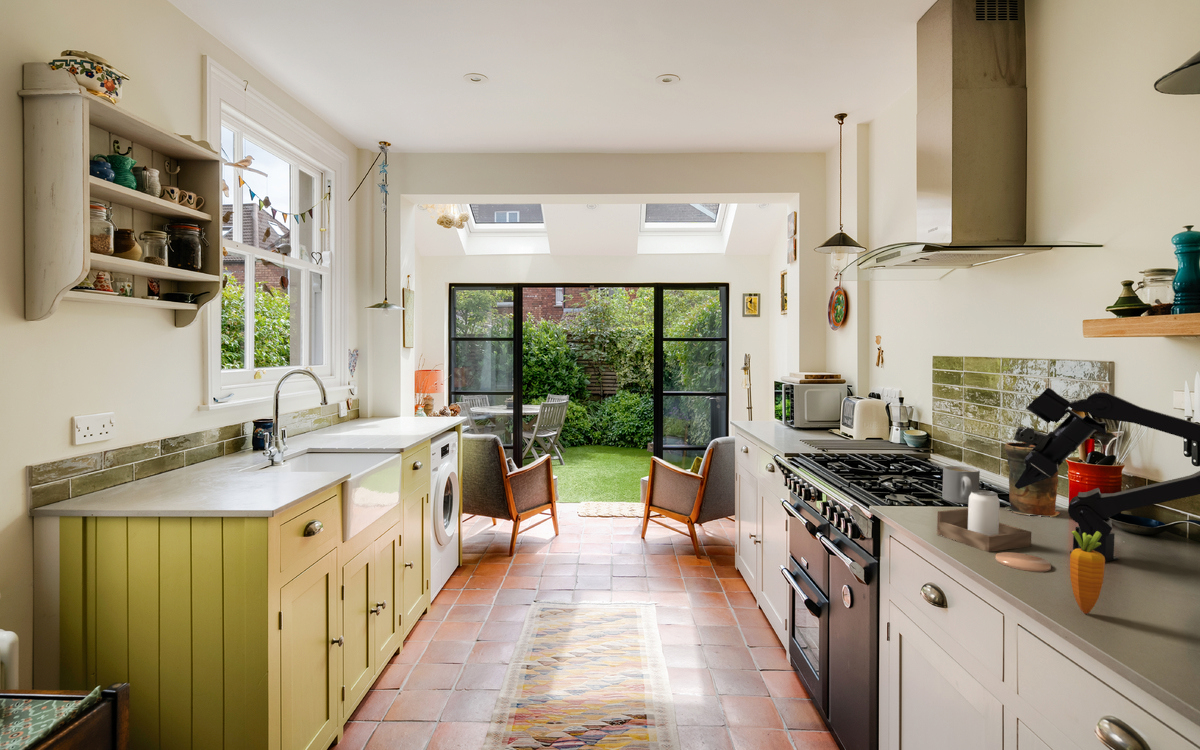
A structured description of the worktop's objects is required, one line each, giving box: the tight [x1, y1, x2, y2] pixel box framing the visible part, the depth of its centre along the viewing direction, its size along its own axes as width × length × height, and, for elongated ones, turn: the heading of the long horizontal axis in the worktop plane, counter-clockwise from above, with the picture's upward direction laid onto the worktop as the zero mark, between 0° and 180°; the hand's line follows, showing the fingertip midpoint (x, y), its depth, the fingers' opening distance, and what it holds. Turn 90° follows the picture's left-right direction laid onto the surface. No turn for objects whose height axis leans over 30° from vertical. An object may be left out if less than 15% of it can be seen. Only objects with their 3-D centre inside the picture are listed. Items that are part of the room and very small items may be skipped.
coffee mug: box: [941, 465, 981, 505], centre depth 188 cm, size 13×10×10 cm
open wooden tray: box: [936, 507, 1033, 553], centre depth 148 cm, size 14×14×6 cm
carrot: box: [1069, 530, 1106, 615], centre depth 106 cm, size 5×5×15 cm
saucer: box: [995, 551, 1052, 573], centre depth 132 cm, size 10×10×1 cm
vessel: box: [1004, 441, 1060, 518], centre depth 176 cm, size 14×14×20 cm
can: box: [967, 489, 1000, 536], centre depth 148 cm, size 6×6×12 cm
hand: (1018, 484), depth 145 cm, fingers open, 9 cm apart
